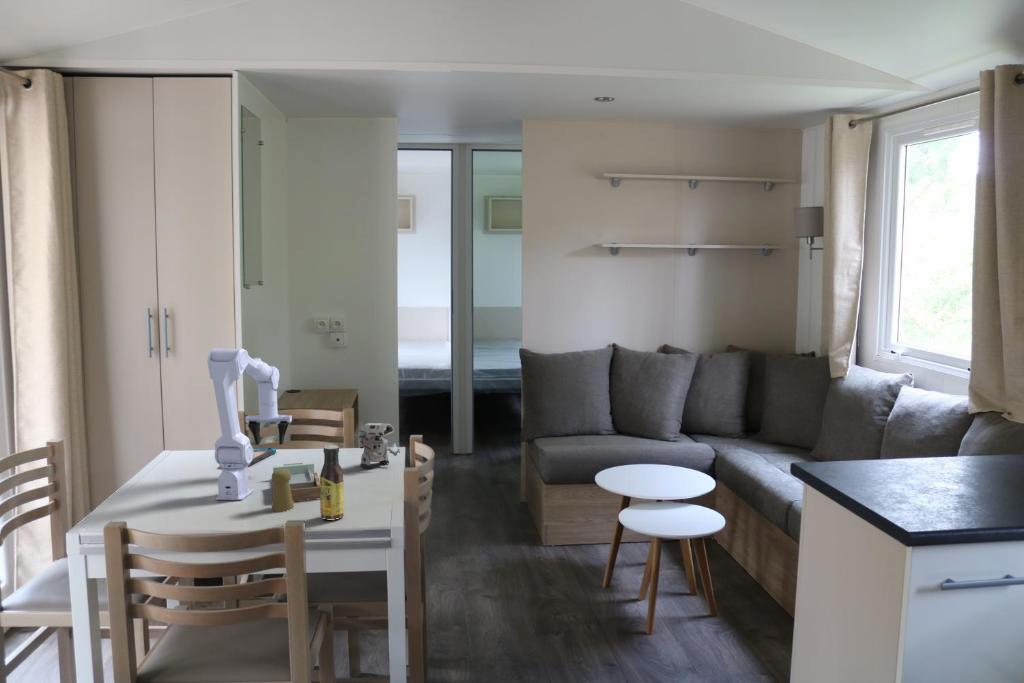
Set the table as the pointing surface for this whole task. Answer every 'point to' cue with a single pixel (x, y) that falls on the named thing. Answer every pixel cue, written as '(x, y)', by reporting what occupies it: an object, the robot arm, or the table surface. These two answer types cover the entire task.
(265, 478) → the table surface
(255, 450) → the gaming console
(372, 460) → the figurine
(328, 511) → the sauce bottle
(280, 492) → the cork
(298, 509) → the table surface
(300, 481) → the drawer
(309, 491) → the caddy
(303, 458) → the table surface
